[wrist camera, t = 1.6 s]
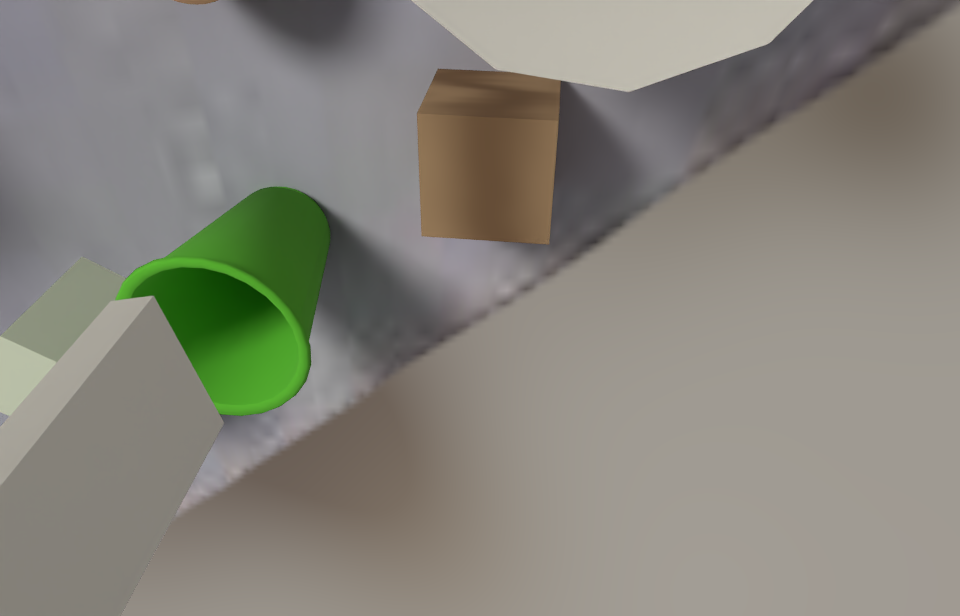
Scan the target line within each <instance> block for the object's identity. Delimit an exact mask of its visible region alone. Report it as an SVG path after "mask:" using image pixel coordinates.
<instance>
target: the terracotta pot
mask: <svg viewBox="0 0 960 616" xmlns="http://www.w3.org/2000/svg"><path fill="white" fill-rule="evenodd" d="M174 1H177V2H181V3H186V4H207V3H211V2H215V1H217V0H174Z"/></svg>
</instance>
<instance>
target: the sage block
mask: <svg viewBox="0 0 960 616" xmlns="http://www.w3.org/2000/svg"><path fill="white" fill-rule="evenodd" d="M125 279H126V278H124V277H122V276H120V275H118V274H116V273H114V272H112V271H110V270H108V269H106V268H104V267H102V266H100V265H98V264H96V263H94V262H92V261H90V260H88V259H86V258H84V257H81V258H80V259H79V260H78V261H77V262H76V263H75V264H74V265H73V266H72V267H71V268H70V269H69V270H68V271H67V272H66V273H65V274H64V275H63V276H62V277H61V278H60V279H58V280H57V281H56V282H55V283H54V284H53V285H52V286H51V287H50V288H49V289H48V290H47V291H46V292H45V293H44V294H43V295H42V296H41V297H40V298H39V299H38V300H37V301H36V302H35V303H34V304H33V305H32V306H31V307H30V308H29V309H28V310H27V311H26V312H25V313H24V314H22V315H21V316H20V317H19V318H18V319H17V320H16V321H15V322H14V323H13V324H12V325H11V326H10V327H9V328H8V329H7V330H6V331H5V332H4V333H3V334H2V335H1V336H0V412H2V413H4V414H6V415H8V416H10V415H11V414H12V413H13V412H14V411H15V410H16V409H17V407H18V406H19V405H20V404H21V403H22V402H23V401H24V399H25V398H26V397H27V396H28V395H29V394H30V393H31V391H32V390H33V389H34V388H35V387H36V386H37V385H38V383H39V382H40V381H41V380H42V379H43V378H44V377H45V375H46V374H47V373H48V372H49V371H50V370H51V369H52V367H53V366H54V365H55V364H56V363H57V362H58V361H59V359H60V358H61V357H62V356H63V355H64V354H65V353H66V352H67V350H68V349H69V348H70V347H71V346H72V345H73V344H74V342H75V341H76V340H77V339H78V338H79V337H80V336H81V334H82V333H83V332H84V331H85V330H86V329H87V328H88V326H89V325H90V324H91V323H92V322H93V321H94V320H95V318H96V317H97V316H98V315H99V314H100V313H101V312H102V310H103V309H104V308H105V307H106V306H107V305H108V304H109V302H110V301H115V298H116V296H117V294H118V292H119V289H120V287H121V285H122V283H123V281H124V280H125Z"/></svg>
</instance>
